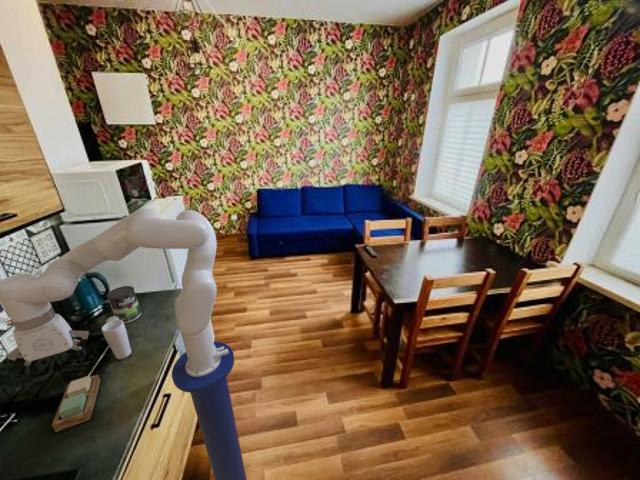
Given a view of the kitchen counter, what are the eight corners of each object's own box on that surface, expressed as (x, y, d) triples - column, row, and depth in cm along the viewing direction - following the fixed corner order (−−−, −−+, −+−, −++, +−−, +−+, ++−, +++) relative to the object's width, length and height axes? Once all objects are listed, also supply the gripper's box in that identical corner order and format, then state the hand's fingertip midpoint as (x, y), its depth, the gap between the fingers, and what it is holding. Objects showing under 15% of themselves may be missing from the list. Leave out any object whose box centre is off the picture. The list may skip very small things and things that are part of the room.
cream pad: (93, 384, 93) (89, 375, 92) (90, 396, 89) (85, 387, 88) (75, 390, 91) (70, 381, 90) (71, 403, 87) (66, 393, 85)
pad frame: (100, 380, 96) (97, 374, 94) (90, 419, 83) (86, 412, 82) (71, 390, 92) (67, 384, 91) (55, 432, 79) (51, 425, 78)
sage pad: (88, 401, 87) (83, 392, 86) (84, 415, 83) (79, 405, 82) (69, 408, 85) (63, 399, 84) (64, 422, 81) (58, 413, 79)
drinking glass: (115, 351, 108) (103, 322, 102) (134, 346, 111) (124, 317, 105) (112, 364, 102) (99, 333, 96) (133, 357, 105) (121, 327, 99)
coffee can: (145, 314, 130) (138, 289, 124) (122, 326, 122) (113, 301, 116) (135, 307, 135) (127, 283, 129) (112, 318, 126) (102, 293, 121)
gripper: (-19, 339, 64) (15, 387, 71) (72, 315, 71) (95, 362, 78) (-3, 320, 70) (27, 367, 77) (80, 300, 77) (100, 345, 84)
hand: (62, 364), depth 78 cm, fingers open, 9 cm apart
